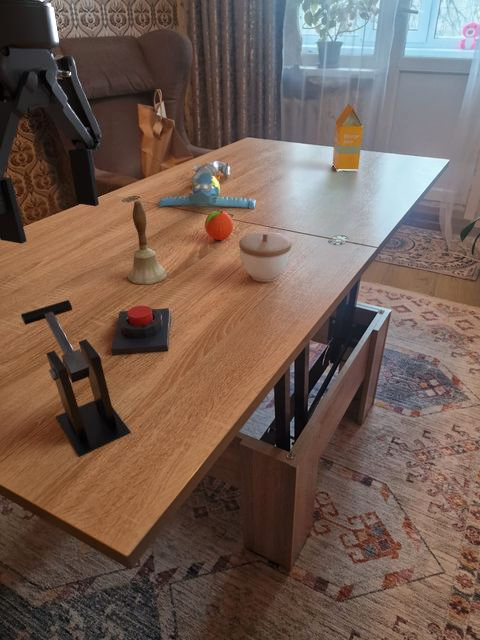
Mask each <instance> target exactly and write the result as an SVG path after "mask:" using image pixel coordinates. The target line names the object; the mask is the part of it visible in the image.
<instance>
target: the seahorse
mask: <svg viewBox="0 0 480 640" xmlns="http://www.w3.org/2000/svg"><path fill="white" fill-rule="evenodd" d="M192 170H193V171H194V172H195V173H193V175H192V177H191V181H190V182H191V183H192V185H193V184H194V182H195V180H194V179H197V178H198V177H199V175H200V174H203V173H209V174H211V176H213V177H214V175H215V174H216V176H218V172H220V174H223V176H224V178H225V179H226V180H227V179H229V178H230V171H231V166H230V165H229V162H228V161H227V162H226V163H224V162H222V161H219V160H218V161H217V160H212V161H209V162H206V163H204V164H201V165H195V166H193V168H192Z"/></svg>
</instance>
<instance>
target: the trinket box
mask: <svg viewBox="0 0 480 640" xmlns="http://www.w3.org/2000/svg"><path fill="white" fill-rule="evenodd" d="M238 246H239V253H240V262H241V264H242V267H243V269H244V271H245V272H246V273H247V274H248V275H249V276H250V277H251V279H253V280H254V281H256V282H260V283H270V282H274V281H276V280H278V279H280V276H282V275H283V274H284V273H285V271H286V270H287V268H288V266H289V263H290V261H291V253H292V251H291V250H292V239H291V238H290V237H288V236H287V235H285V234H282V233H279V232H274V231H256V232H252V233H249V234H246V235H244V236H242V237H241V238H240V239H239V245H238Z"/></svg>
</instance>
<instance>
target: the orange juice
mask: <svg viewBox="0 0 480 640" xmlns="http://www.w3.org/2000/svg"><path fill="white" fill-rule="evenodd" d="M363 132H364V126H363V124H362V123H361V121H360V118H359V117H358V115H357V112H356V111H355V109H354V107H353V106H351V105H350V104H347V105H346V106H345V108H344V109H343V111H342V112H341V114H340V115H339V116H338V117H337V119H336V120H335V128H334V139H333V153H332V164H334V166H335V167H336V169H337V170H338V169H358V170H359V167H360V157H361V150H362V140H363Z"/></svg>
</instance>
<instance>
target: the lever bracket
mask: <svg viewBox="0 0 480 640" xmlns="http://www.w3.org/2000/svg"><path fill="white" fill-rule="evenodd" d="M78 346H79V349H80V351H81V353H82V354H83V356H84V358H85V360H86V362H87V364H88V365H89V373H90V376H89V377H87V378H88V381H89V385H90V389H91V392H92V396H93V400H91V401H90V402H87V403H84V404H82V405H78V402H77V398H76V396H75V392H74V389H73V385H72V381H71V379H70V377H69V375H68V372H67V369H66V367H65V365H64V364H63V360H61V359H62V358H60V357H59V355H58V353H57V352H56V351H55V350H52V351H48V352H46V353H45V355H46V357H47V361H48V363H49V367H50V369H48V373H49V375H50V377H51V379H52V381H54V382H55V385H56V389H57V390H58V394H59V398H60V400H61V403H62V406H63V409H64V412H63V413H61V414H58V415H56V416H55V418H56V420H57V422H58V424H59V425H60V427H61V429H62V431H63V432H64V433H65V435H66V437H67V439H68V440H69V443H70V444H71V446H72V448H73V449H74V451H75V453H76V454H77V456H78V457H79V458H81V457H83V456H85V455H87V454H89V453H92V452H94V451H96V450H98V449H100V448H102V447H105V446H106V445H109V444H110V443H113V442H115V441H117V440H119V439H122V438H124V437H125V436H128V435H130V434H131V433H132V431H131V430H130V428H129V427H128V426H127V424H126V423H125V421H124V420H123V419H122V418H121V416H120V415H119V413H118V412H117V411H116V409H115V408H114V407H113V405H112V399H111V397H110V393H109V392H110V391H109V388H108V385H107V379H106V377H105V371H104V369H103V365H102V361H103V360H102V357H101V354H100V353H99V352H98V351H97V350H96V349H95V348H94V346H93V345H92V344H91V343H90V342H89V341H88V339H82V340H79V341H78Z"/></svg>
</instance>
